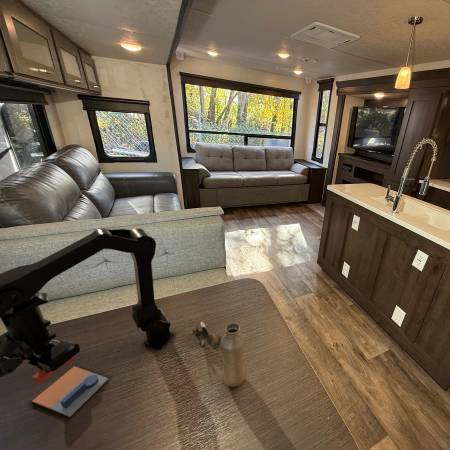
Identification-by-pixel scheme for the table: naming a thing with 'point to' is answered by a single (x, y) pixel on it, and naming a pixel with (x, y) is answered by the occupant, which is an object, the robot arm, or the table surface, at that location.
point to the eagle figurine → (206, 335)
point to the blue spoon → (79, 390)
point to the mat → (68, 391)
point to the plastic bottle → (233, 355)
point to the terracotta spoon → (43, 375)
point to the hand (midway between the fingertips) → (47, 370)
